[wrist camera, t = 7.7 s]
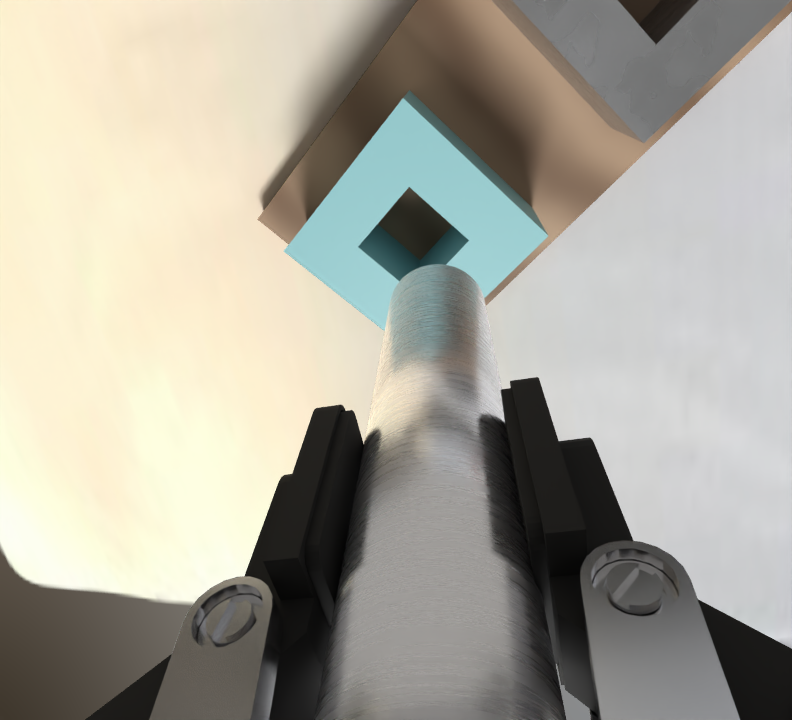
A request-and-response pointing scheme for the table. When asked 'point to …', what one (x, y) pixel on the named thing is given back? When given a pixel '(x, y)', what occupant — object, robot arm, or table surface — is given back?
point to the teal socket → (437, 185)
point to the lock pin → (438, 533)
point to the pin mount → (639, 51)
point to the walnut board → (478, 122)
